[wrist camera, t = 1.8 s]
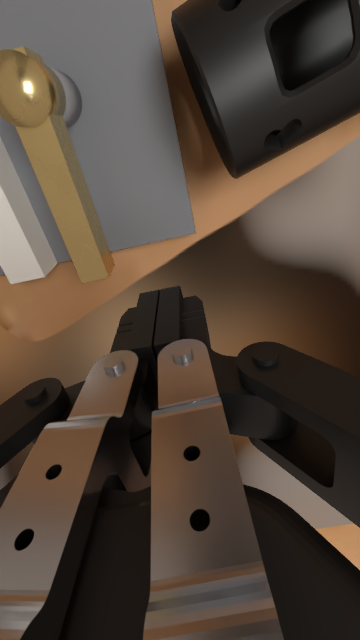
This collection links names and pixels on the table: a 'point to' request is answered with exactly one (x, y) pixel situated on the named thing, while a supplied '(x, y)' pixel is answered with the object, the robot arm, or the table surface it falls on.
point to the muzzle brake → (269, 72)
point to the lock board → (95, 131)
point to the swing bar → (53, 156)
